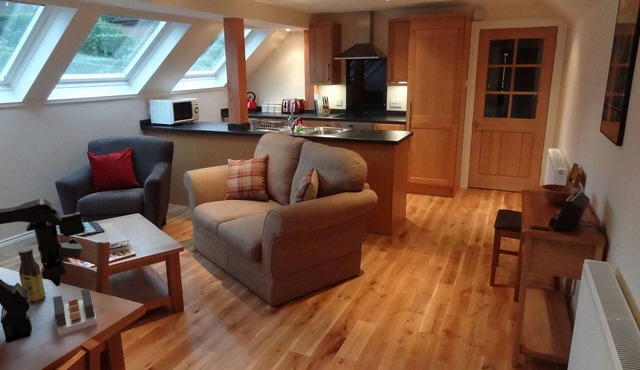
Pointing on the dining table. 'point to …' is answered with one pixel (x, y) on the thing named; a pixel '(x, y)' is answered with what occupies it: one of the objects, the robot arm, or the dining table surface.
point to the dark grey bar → (59, 311)
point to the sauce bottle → (31, 276)
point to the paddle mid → (74, 308)
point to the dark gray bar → (88, 303)
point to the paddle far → (73, 302)
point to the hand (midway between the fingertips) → (58, 285)
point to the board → (76, 320)
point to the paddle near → (75, 315)
